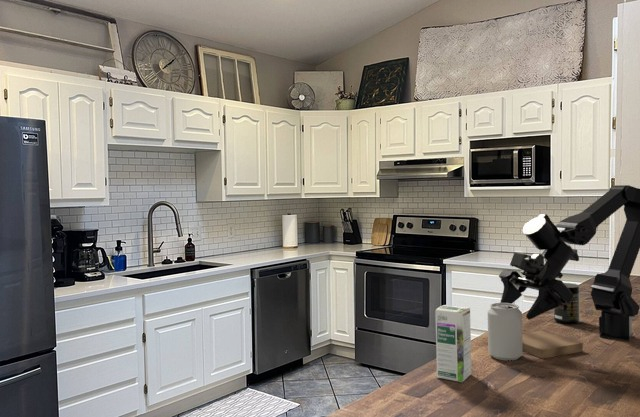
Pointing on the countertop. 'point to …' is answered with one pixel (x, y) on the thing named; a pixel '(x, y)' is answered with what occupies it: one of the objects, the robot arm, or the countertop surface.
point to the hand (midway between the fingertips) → (513, 313)
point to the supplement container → (569, 308)
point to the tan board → (549, 344)
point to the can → (505, 331)
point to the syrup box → (453, 342)
